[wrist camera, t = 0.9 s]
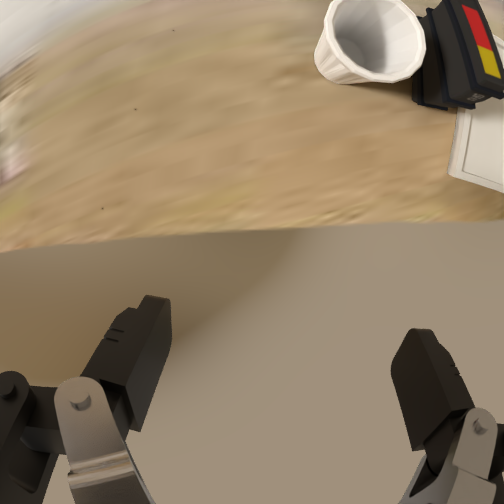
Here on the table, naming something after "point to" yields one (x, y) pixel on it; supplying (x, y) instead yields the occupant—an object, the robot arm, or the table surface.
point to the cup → (369, 42)
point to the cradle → (480, 141)
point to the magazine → (457, 58)
